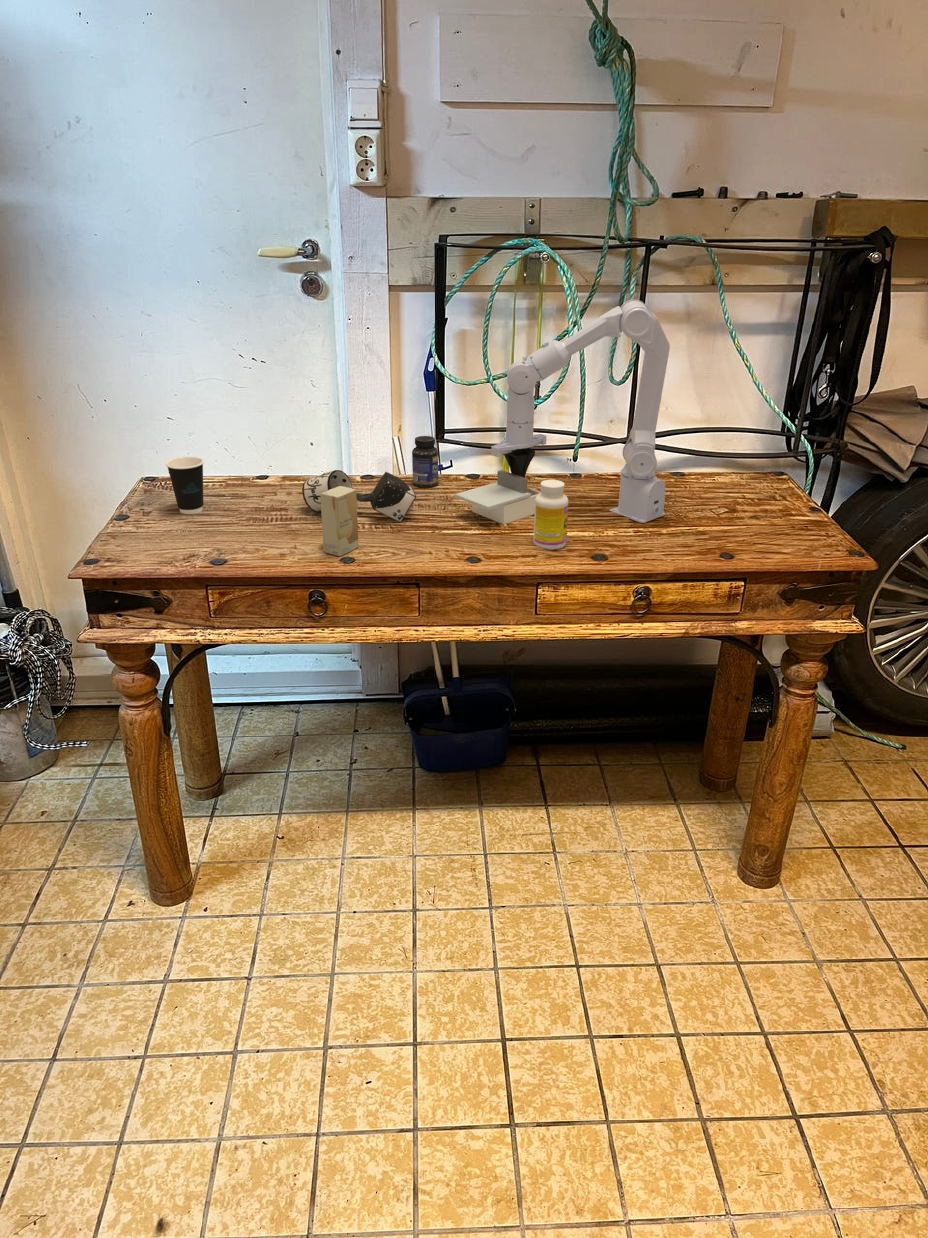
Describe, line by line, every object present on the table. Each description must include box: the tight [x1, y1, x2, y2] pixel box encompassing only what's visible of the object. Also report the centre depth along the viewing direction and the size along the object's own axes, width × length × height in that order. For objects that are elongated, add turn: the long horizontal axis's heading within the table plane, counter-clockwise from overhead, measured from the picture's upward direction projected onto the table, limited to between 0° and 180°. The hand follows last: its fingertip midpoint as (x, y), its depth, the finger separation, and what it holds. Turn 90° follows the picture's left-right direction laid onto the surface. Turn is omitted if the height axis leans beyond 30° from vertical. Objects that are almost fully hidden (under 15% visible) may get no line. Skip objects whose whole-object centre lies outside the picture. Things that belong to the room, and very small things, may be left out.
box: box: [471, 486, 541, 525], centre depth 205 cm, size 12×10×5 cm
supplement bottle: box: [532, 479, 569, 551], centre depth 187 cm, size 7×7×13 cm
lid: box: [454, 469, 531, 510], centre depth 200 cm, size 12×10×4 cm
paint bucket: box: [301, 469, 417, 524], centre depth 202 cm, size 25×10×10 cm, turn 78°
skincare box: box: [320, 486, 359, 557], centre depth 185 cm, size 6×4×12 cm
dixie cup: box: [165, 456, 205, 515], centre depth 204 cm, size 8×8×11 cm
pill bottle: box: [411, 435, 440, 489], centre depth 221 cm, size 6×6×11 cm
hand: (518, 482), depth 204 cm, fingers closed
